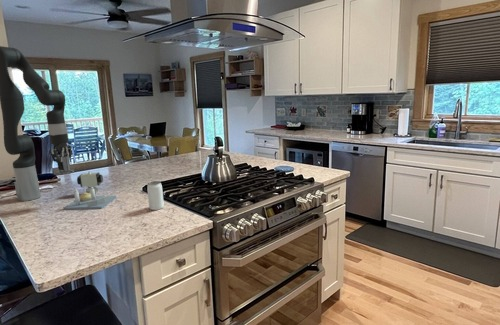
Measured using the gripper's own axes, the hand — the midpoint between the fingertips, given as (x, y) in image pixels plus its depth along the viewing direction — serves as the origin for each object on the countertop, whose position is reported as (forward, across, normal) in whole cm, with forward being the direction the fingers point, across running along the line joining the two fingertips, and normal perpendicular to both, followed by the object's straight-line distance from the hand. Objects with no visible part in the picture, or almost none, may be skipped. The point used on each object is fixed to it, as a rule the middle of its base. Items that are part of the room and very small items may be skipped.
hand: (64, 168), depth 152 cm
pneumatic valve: (+18, -16, +3) cm, 24 cm away
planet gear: (+2, 0, 0) cm, 2 cm away
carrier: (+18, +1, +11) cm, 21 cm away
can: (+18, +10, +46) cm, 51 cm away
